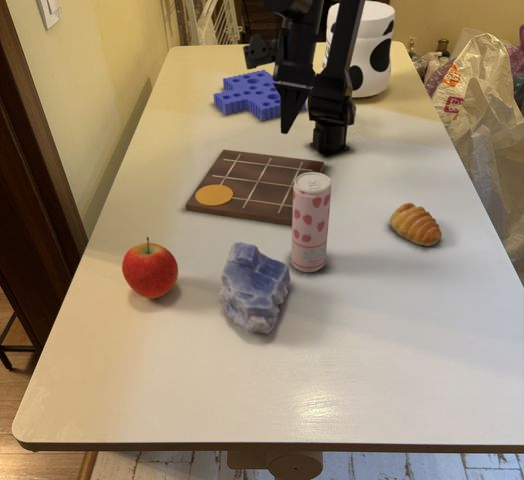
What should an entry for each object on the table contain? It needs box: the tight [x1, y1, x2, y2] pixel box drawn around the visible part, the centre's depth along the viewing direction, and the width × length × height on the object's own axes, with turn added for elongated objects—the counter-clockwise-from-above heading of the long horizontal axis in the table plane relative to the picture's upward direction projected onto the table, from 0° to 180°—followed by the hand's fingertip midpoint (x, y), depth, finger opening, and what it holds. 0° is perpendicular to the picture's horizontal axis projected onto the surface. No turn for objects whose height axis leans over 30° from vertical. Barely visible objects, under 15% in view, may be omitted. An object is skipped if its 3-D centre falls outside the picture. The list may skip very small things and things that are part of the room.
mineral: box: [217, 241, 292, 334], centre depth 77 cm, size 14×10×10 cm
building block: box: [212, 69, 312, 122], centre depth 130 cm, size 25×24×3 cm
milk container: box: [320, 0, 396, 101], centre depth 126 cm, size 17×17×18 cm
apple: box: [121, 236, 179, 299], centre depth 79 cm, size 8×8×10 cm
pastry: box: [389, 202, 443, 247], centre depth 90 cm, size 9×7×4 cm
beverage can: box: [290, 172, 332, 273], centre depth 81 cm, size 6×6×15 cm
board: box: [184, 149, 325, 227], centre depth 102 cm, size 22×22×1 cm
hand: (283, 131), depth 88 cm, fingers open, 9 cm apart
